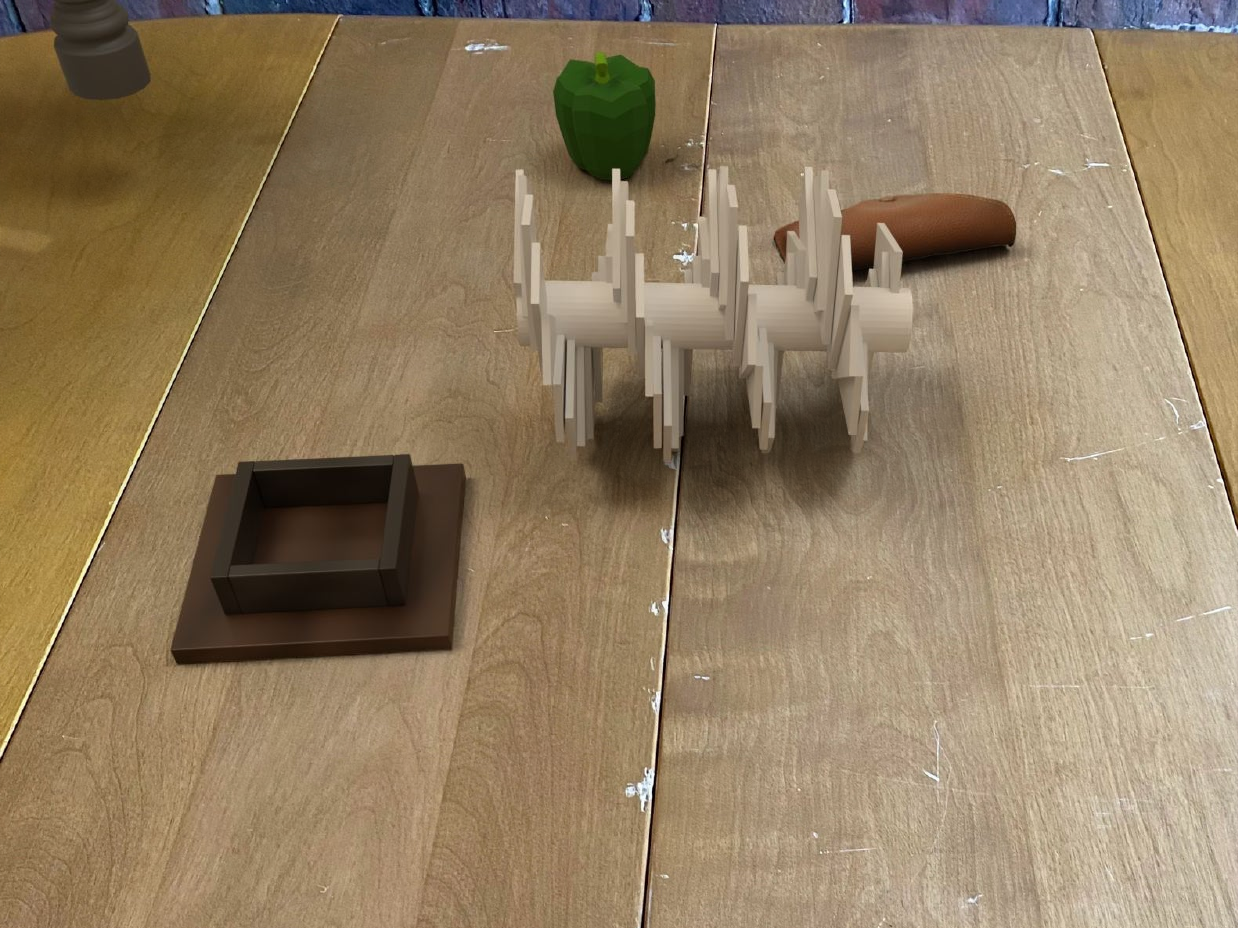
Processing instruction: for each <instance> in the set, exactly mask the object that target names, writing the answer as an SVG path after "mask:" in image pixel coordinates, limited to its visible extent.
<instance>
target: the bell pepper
mask: <svg viewBox="0 0 1238 928" xmlns="http://www.w3.org/2000/svg"><path fill="white" fill-rule="evenodd" d="M552 93H553V102H554V109H555V117H556V120H557V123H558V126H559V130H560V133H561V136H562V139H563V142H564V145H565V147H566V150H567V153H568V155H569V158H570V159H571V160H572V162H573V164H574V165H575V166H576V167H577V168H578V169H580V170H585V171H587V172H588V174H589V175H592V176H593V177H595V178H597V179H599V180H611V181H612V169H620V180H621V179H625V178H626V179H627V178H629V177H630V176H632V174H633V173H635V172H636V171H637V170H638V169H639V167H640V166H641V164H642V162H643V161H644V159H645V158H646V155H647V154H648V153H649V148H650V143H651V140H652V137H653V131H654V125H655V119H656V107H657V106H656V104H657V103H656V81H655V78H654V77H653V75H652V73H651V71H650V69H649V67H644V66H639V65H638V64H636V63H634V62H633V61H632V60H630V59H628V58H627V57H625V56H624V55H622V54H616V55H613V56H607V53H605V52H604V51H597V52H596V53H595V54H594V62H592V61H587V60H579V59H573V58H570V59H569V60H568V62H567V64H566V65H565V66H564V68H563V69H562V71H561V73H560V74H559V75H558V76H557V77H556V80H555V84H554V87H553V91H552Z"/></svg>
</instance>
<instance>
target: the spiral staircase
mask: <svg viewBox="0 0 1238 928" xmlns="http://www.w3.org/2000/svg"><path fill="white" fill-rule="evenodd" d="M803 168H804V169H803V176H802V182H801V188H800V195H799V200H798V221H799V236H800V239H799V238H798V236H797V235H796V233H795V232H794V231H787V248H786V261H785V264H783V268H782V271H776V274H775V275H776V277H775V284H750V267H749V247H748V246H749V245H748V225H740V224H739V223H738V221H739V203H738V196H737V191H736V186H735V184H729V166H728V165H727V166H724V165H720V166H719V171H718V174H717V169H712V168H709V169H708V170H707V171H708V172H707V173H708V174H707V188H706V189H707V190H706V191H707V193H706V210H705V211H706V213H705V216H698V218H697V221H698V223H697V255H693V256H692V263H691V268H690V269H684V274H683V275H684V276H683V282H647V281H646V282H645V252H644V253H640V252H636V221H635V220H636V217H635V215H636V213H635V210H636V209H635V200H629V199H630V195H629V193H630V192H629V190H630V189H629V182H628V180H621V179H620V169H612V180H611V181H612V182H611V185H612V186H611V187H612V189H611V191H612V192H611V195H612V197H611V199H612V202H611V204H612V207H611V208H612V213H611V214H612V215H611V216H612V218H611V219H612V220H611V222H612V223H607V231H606V242H605V243H606V244H605V255H598V257H597V258H598V259H597V265H598V266H597V267H598V269H597V270H598V271H591V275H590V276H591V279H590V280H591V281H590V280H589V281H588V280H550V279H549V280H546V279H545V278H546V277H545V270H544V263H543V254H542V247H541V242H537V230H536V214H535V213H536V212H535V199H534V198H535V197H534V194H533V187H532V186H533V184H532V182H531V181H530V179H529V177H528V176H527V175H525V170H524V169H515V185H514V187H515V189H514V236H513V237H514V242H513V288H514V294H515V301H516V327H517V328H516V329H517V336H518V344H519V347H529V351H531V352H537V356H538V360H539V361H538V363H539V369H540V375H541V376H542V386H552V394H553V397H552V398H553V412H554V413H553V415H554V428H555V442H556V443H565V435H566V442H567V453H568V454H567V455H568V459H569V460H577V456H578V454H577V451H578V452H579V455H580V456H588V450H589V449H588V447H589V446H588V440H594V436H595V422H596V408H595V407H596V404H595V403H603V402H604V401H603V400H604V399H603V397H604V396H603V395H604V391H603V389H604V350H603V348H604V349H605V348H608V349H609V348H610V349H627V356H628V357H632V356H633V357H635V356H636V378H637V379H644V383H645V384H644V386H645V389H644V392H645V393H644V394H645V397H652V398H653V399H652V401H653V403H652V404H653V405H652V406H653V408H652V409H653V414H652V415H653V449H662V445H663V450H662V451H663V453H662V454H663V462H664V463H665V462H666V463H671V462H672V453H678V452H679V450H680V437H684V413H685V411H684V408H685V407H684V404H685V403H684V402H685V398H684V397H690V396H691V381H692V380H691V378H692V355H693V354H692V353H693V350H722V351H725V350H726V351H732V367H734V368H735V367H737V368H739V369H738V371H739V372H738V374H739V375H738V378H739V379H745V382H746V390H747V398H748V404H749V412H750V421H751V428H752V429H757V430H758V431H757V433H758V447H759V450H761V454H770V451H771V449H772V446H773V443H774V440H775V437H776V413H777V412H776V411H777V408H778V407H779V403H780V402H779V401H780V393H781V382H782V381H781V380H782V373H783V364H784V355H785V352H826V353H827V354H826V355H827V357H826V358H827V370H829V371H831V380H837V383H838V388H839V392H840V399H841V403H842V408H843V413H844V418H845V423H846V427H847V433H848V435H849V436H850V451H851V452H852V453H853V454H861V453H862V448H863V446H864V445H865V444H866V443H867V442H868V419H869V413H870V406H869V405H870V404H869V396H868V395H869V394H868V387H869V382H870V381H869V380H870V375H871V370H872V365H873V360H874V356H875V353H893V354H894V353H896V354H897V353H899V354H900V353H901V354H902V353H904V354H906V353H907V352H908V350H909V347H910V344H911V338H912V331H913V319H914V318H913V317H914V316H913V314H914V313H913V311H914V309H913V306H914V305H913V296H912V291H911V289H910V287H901V276H902V266H903V265H902V264H903V261H902V254H903V252H902V250H901V248H900V247H899V245H898V244H897V242H896V241H895V239H894V237H893V236H892V234H891V233H890V231H889V230H888V228H887V226H886V225H885V223H877V232H876V245H875V257H874V266H873V268H869V269H868V272H867V273H868V274H867V279H866V280H865V283H864V284H863V286H853V271H852V264H851V245H850V235H842V237H841V242H840V235H841V224H842V215H841V211H840V210H841V208H840V203H839V198H838V195H837V191H836V189H835V188H830V169H825V170H824V169H820V171H819V173H818V174H817V175H816V177H815V178H814V175H813V174H814V173H813V171H814V170H813V166H804V167H803ZM662 436H663V437H662ZM577 449H578V450H577Z"/></svg>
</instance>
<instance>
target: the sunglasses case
mask: <svg viewBox="0 0 1238 928" xmlns="http://www.w3.org/2000/svg"><path fill="white" fill-rule="evenodd" d="M840 211H841V215H842V224H841V235H840V242H841V237H842V235H850V245H851V264H852V272H855V271H857V270H859V269H860V270H861V269H863V270H864V269H868V268H869V269H870V268H872V267H874V257H875V245H876V232H877V223H885V225H886V226H887V228H888V230H889V231H890V233H891V234H892V236H893V237H894V239H895V241H896V242H897V244H898V245H899V247H900V248H901V250H902V252H903V254H902V262H904V261H911V260H917V259H923V258H928V257H933V256H936V255H950V254H956V253H961V252H966V251H972V250H980V249H986V248H992V247H998V246H1000V247H1001V246H1007V247H1009V248H1012V247H1013V246H1014V245H1015V242H1016V236H1017V222H1016V217H1015V214H1014V212H1013V211H1012V209H1011V207H1010V206H1009V205H1008V204H1007V203H1005V202H1004V201H1002V200H999V199H995V198H989V197H984V196H979V195H973V194H965V193H954V192H953V193H951V192H932V193H931V192H930V193H928V192H926V193H917V194H900V195H899V194H898V195H893V196H884V197H880V198H874V199H866V200H861V201H860V202H858V203H856V204H854V205H852V206H850V207H848V208H845V209H844V208H843V209H840ZM787 231H794V232H795V233H796V235H797V236H798V238H799V239H800V236H799V220H795V221H793V222H790V223H788V224H786V225H784V226H781V227H779V228H778V229H776V230H775V231H774V235H773V240H774V242H775V246H776V247H777V250H778V253H779V255H780V257H781V259H782V261H783V263H784V264H785V261H786V248H787ZM784 264H783V265H784Z"/></svg>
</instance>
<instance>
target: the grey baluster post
mask: <svg viewBox="0 0 1238 928" xmlns="http://www.w3.org/2000/svg"><path fill="white" fill-rule="evenodd" d="M53 1H54V3H53V6H52V12H51V14H50V18H49V27H50V30H51V31H52V32H54V34H55V35H56V36H55V37H54V39H53V48H54V51H55V54H56V57H57V60H58V62H59V65H60V69H61V70H62V75H63V76H64V79H65V82H66V84H67V87H68V90H69V91H70V92H71V93H72V94H73V95H74V96H75V97H78V98H82V99H84V100H90V101H91V100H92V101H107V100H109V101H110V100H118V99H121V98H126V97H129V96H132V95H134V94H136V93H138V92H140V91H142V90H145V88H146V87H147V86H148V85H149V84H150V83H151V78H152V77H151V76H152V75H151V71H150V69H149V65H148V62H147V59H146V55H145V52H144V50H143V49H144V48H143V47H142V43H141V39H140V37H139V34H138V33H139V32H138V31H137V30H136V29H135V28H134V27H133V26H132V25H131V24H129V13H128V11H127V9H126V8H125V7H123V6H122V4H120V3H119V2H118V1H117V0H53Z"/></svg>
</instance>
